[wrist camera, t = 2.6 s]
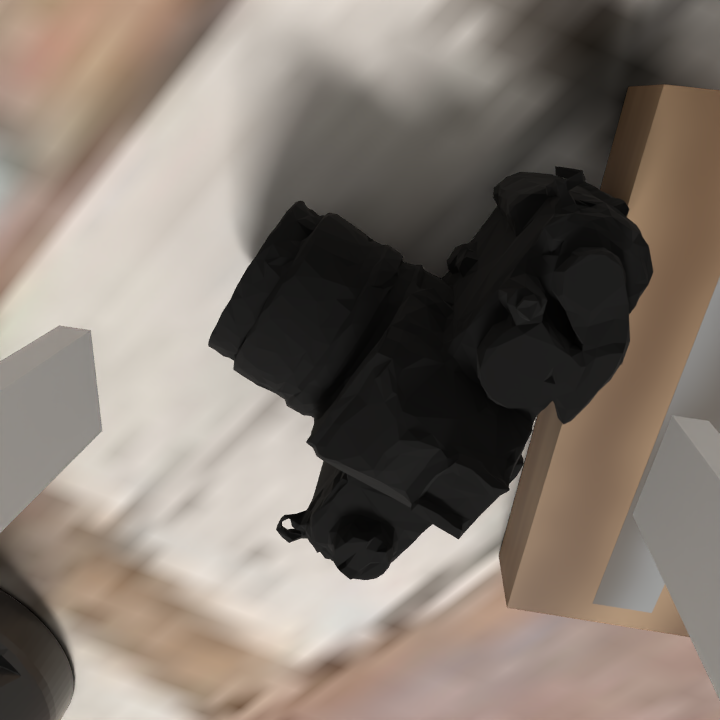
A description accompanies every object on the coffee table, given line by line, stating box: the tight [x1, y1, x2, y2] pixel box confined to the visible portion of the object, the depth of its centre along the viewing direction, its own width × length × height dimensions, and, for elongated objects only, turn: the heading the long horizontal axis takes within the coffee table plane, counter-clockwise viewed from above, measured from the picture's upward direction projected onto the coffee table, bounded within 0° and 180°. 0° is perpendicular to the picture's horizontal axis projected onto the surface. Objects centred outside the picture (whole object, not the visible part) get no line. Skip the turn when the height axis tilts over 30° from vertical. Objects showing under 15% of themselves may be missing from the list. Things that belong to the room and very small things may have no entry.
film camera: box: [208, 166, 653, 580], centre depth 18 cm, size 15×10×9 cm, turn 147°
